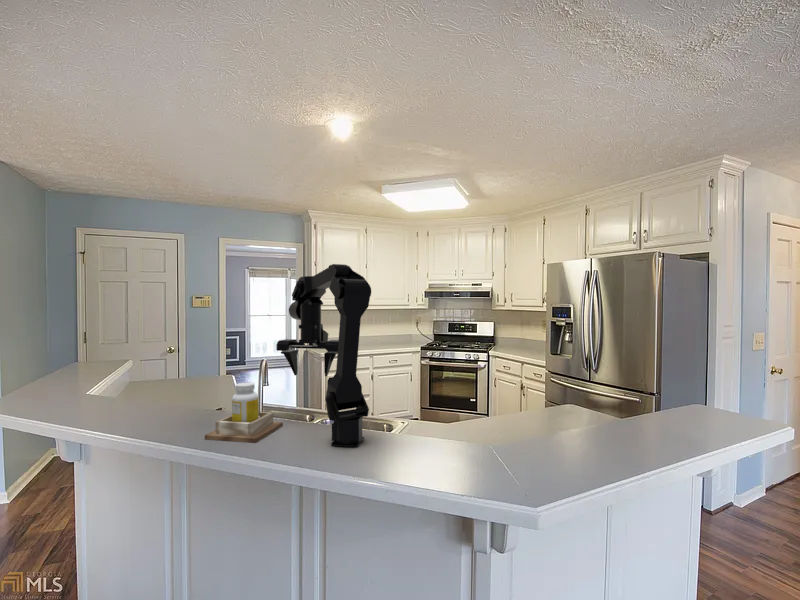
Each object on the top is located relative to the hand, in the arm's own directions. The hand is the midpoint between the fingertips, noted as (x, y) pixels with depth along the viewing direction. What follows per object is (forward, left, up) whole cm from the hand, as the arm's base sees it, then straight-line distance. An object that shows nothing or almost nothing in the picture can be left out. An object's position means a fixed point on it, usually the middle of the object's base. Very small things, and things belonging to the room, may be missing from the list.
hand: (311, 375), depth 122 cm
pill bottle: (+13, +13, -12) cm, 22 cm away
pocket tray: (+13, +13, -13) cm, 22 cm away
